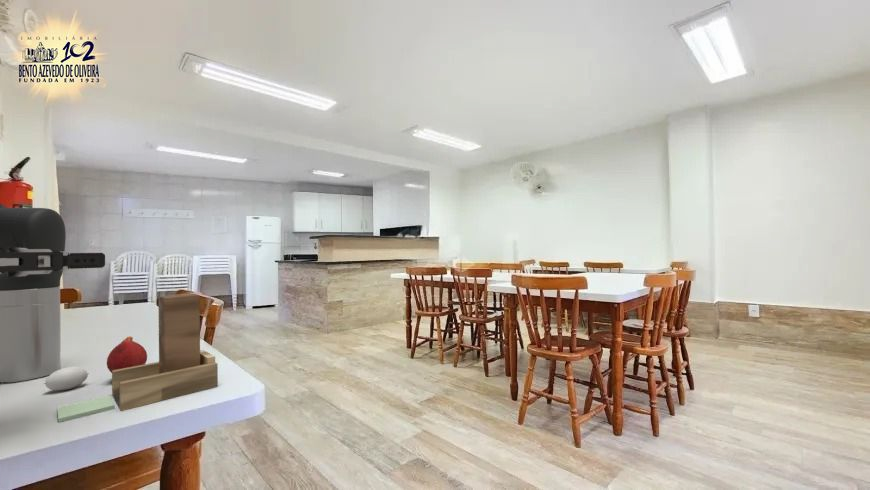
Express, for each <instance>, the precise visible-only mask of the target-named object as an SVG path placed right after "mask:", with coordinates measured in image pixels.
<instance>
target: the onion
mask: <svg viewBox="0 0 870 490" xmlns="http://www.w3.org/2000/svg"><path fill="white" fill-rule="evenodd" d="M133 337H134V336H130V335H129V336H126V337H124V339H123V340H122V341H121V342H119V344H117V345H116V346H114V348H112V350H111V351H110V352H109V354H108V356H107V358H106V367H107V369H108V371H109V372H110V373H111V374H112V370H118V369H123V368H128V367H133V366H139V365H144V364H147V361H148V353H147V350H146V349H145V348H144V346H142V345H141V344H140V343H138V342H136V341H133Z"/></svg>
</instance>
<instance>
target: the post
mask: <svg viewBox="0 0 870 490" xmlns="http://www.w3.org/2000/svg"><path fill="white" fill-rule="evenodd" d="M157 297H158V298H157V299H158V304H157V305H158V362H159V374H161V373H166V372H171V371H175V370H180V369H185V368H190V367H195V366H199V365H200V350H201V327H200V326H201V316H200V314H201V313H200V311H201V310H200V307H201V306H200V305H201V304H200V303H201V302H200V294H197V293H181V294H178V293H177V294H169V295H158V296H157Z"/></svg>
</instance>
